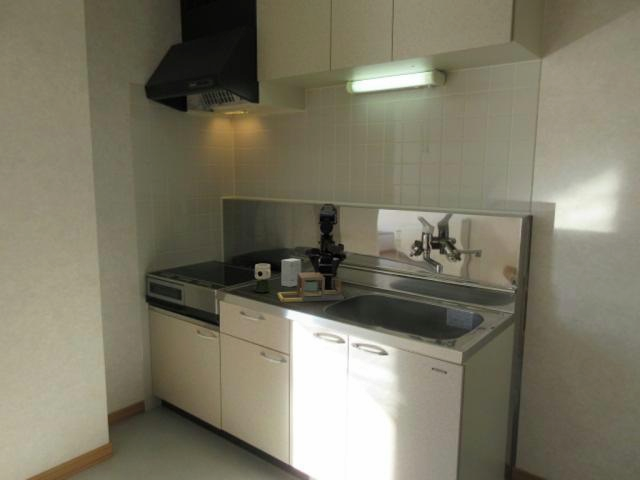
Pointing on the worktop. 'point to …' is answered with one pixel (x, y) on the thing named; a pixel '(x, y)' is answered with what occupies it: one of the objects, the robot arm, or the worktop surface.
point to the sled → (318, 292)
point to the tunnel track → (301, 284)
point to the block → (310, 285)
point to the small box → (290, 272)
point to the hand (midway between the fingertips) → (325, 274)
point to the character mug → (262, 277)
